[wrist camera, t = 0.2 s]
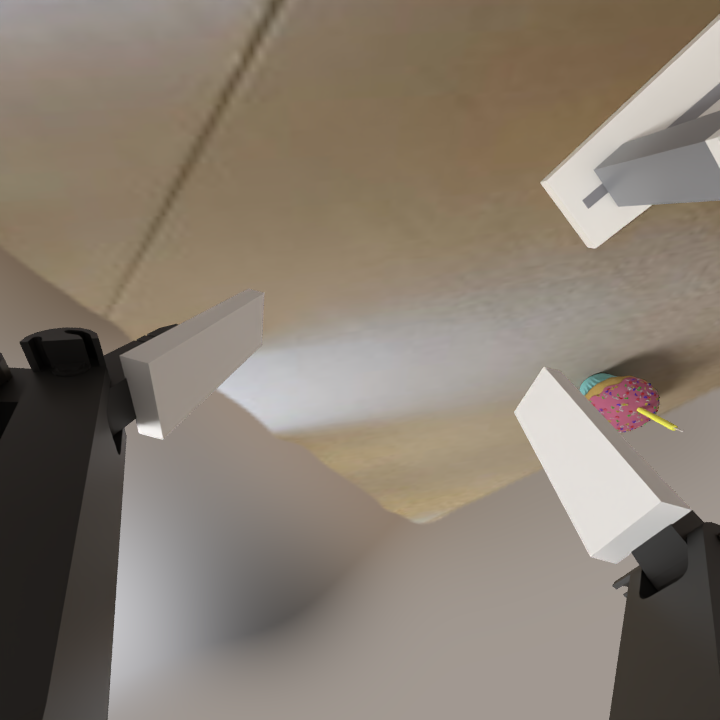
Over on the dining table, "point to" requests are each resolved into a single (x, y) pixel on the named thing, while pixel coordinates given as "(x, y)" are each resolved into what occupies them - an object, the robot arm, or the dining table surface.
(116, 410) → the robot arm
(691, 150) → the fader tab
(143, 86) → the dining table surface
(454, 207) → the dining table surface
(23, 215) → the dining table surface
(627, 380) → the cupcake
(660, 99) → the fader base
